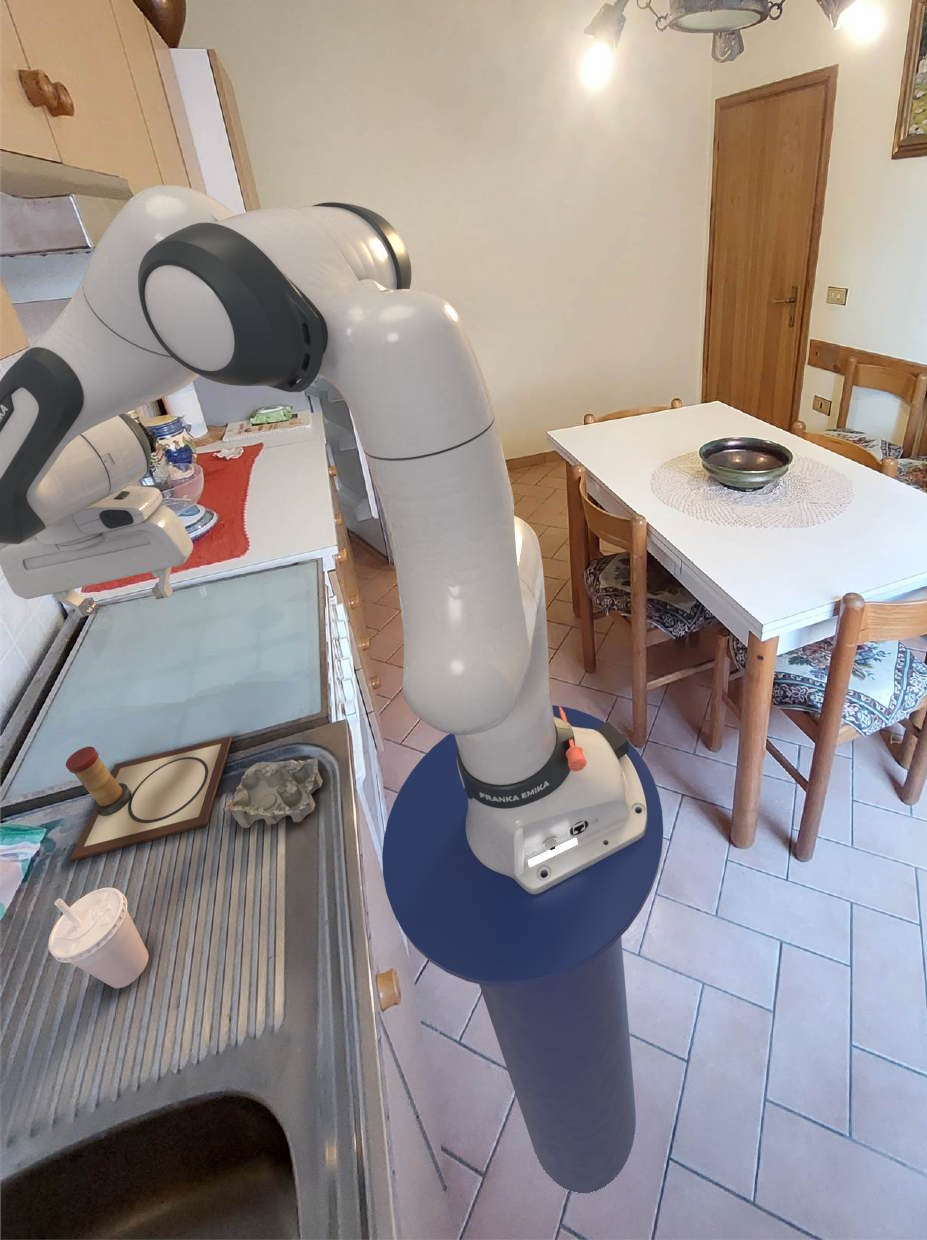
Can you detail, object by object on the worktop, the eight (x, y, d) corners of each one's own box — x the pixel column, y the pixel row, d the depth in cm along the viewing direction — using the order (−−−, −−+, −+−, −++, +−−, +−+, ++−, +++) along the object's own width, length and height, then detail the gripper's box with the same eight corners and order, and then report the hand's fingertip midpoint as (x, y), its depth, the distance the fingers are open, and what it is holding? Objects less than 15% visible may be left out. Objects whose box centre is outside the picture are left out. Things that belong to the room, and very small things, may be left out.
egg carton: (228, 831, 77) (216, 811, 75) (254, 777, 84) (244, 758, 82) (310, 825, 77) (300, 805, 75) (329, 772, 83) (320, 753, 81)
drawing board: (233, 738, 90) (231, 734, 90) (207, 825, 78) (205, 822, 78) (116, 766, 87) (114, 763, 87) (71, 861, 75) (68, 858, 75)
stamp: (136, 784, 83) (103, 740, 79) (124, 811, 80) (90, 766, 75) (104, 793, 83) (70, 748, 78) (92, 820, 79) (55, 774, 75)
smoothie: (91, 965, 65) (23, 895, 58) (157, 920, 68) (100, 849, 62) (97, 1020, 60) (24, 951, 54) (167, 969, 64) (107, 898, 57)
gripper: (-36, 546, 69) (28, 639, 75) (152, 507, 72) (199, 600, 78) (-2, 521, 75) (55, 609, 81) (172, 485, 77) (214, 573, 83)
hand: (127, 604), depth 79 cm, fingers open, 8 cm apart
